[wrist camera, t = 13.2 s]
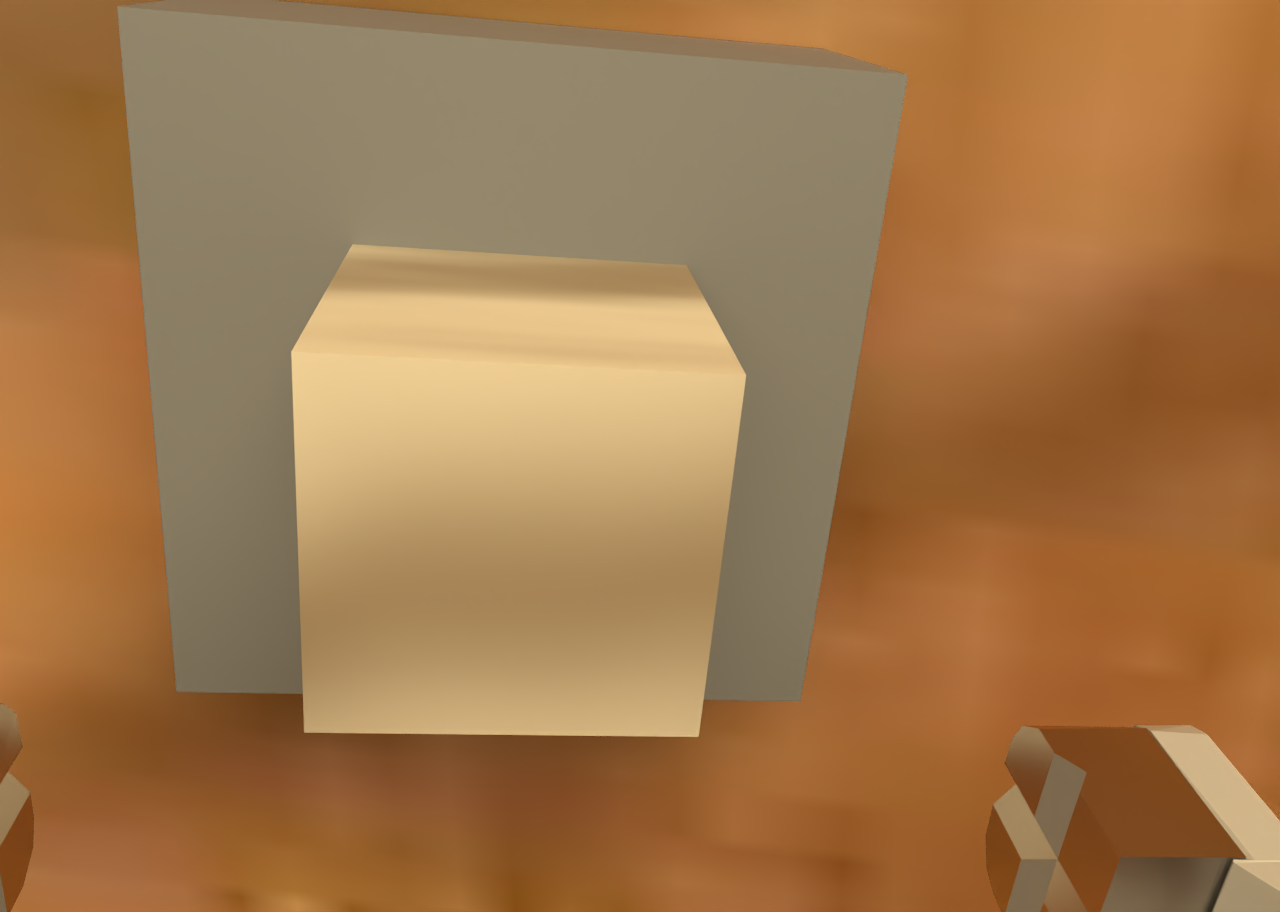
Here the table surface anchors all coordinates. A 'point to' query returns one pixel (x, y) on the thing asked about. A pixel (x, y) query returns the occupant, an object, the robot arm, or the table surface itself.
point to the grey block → (490, 223)
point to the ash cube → (510, 494)
